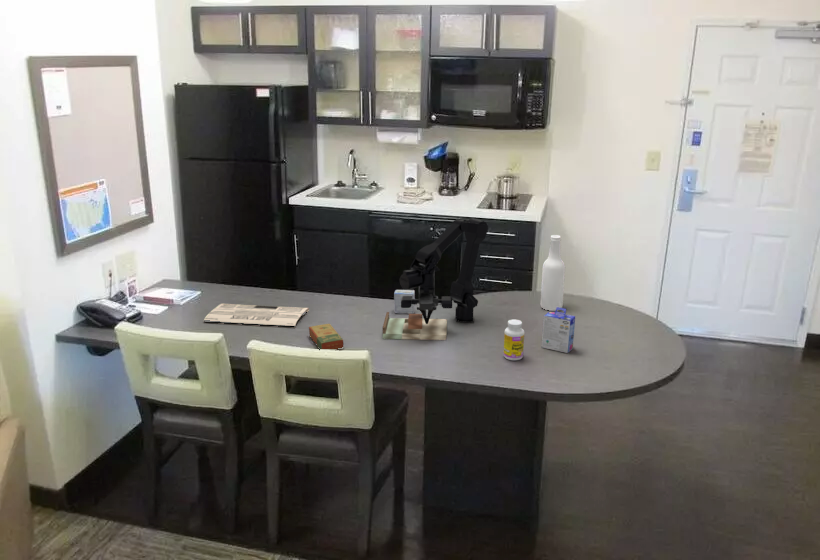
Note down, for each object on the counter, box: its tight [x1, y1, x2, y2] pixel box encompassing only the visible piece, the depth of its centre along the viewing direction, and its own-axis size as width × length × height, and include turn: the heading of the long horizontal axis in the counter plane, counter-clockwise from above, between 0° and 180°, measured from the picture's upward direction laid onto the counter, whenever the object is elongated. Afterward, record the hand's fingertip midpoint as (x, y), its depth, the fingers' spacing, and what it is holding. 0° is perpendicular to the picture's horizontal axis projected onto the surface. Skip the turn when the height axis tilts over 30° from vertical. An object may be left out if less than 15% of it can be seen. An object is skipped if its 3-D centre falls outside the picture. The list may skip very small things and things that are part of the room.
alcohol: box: [540, 234, 566, 312], centre depth 266 cm, size 9×9×30 cm
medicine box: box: [393, 289, 416, 315], centre depth 267 cm, size 8×4×9 cm, turn 84°
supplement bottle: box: [503, 318, 525, 361], centre depth 226 cm, size 7×7×13 cm
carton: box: [308, 323, 344, 349], centre depth 240 cm, size 8×16×4 cm, turn 24°
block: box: [407, 313, 423, 329], centre depth 248 cm, size 5×5×4 cm
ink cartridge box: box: [541, 307, 576, 354], centre depth 232 cm, size 10×6×14 cm, turn 58°
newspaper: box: [203, 303, 310, 326], centre depth 263 cm, size 37×19×3 cm, turn 81°
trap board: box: [382, 311, 448, 341], centre depth 249 cm, size 23×15×4 cm, turn 86°
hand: (426, 323), depth 248 cm, fingers closed
